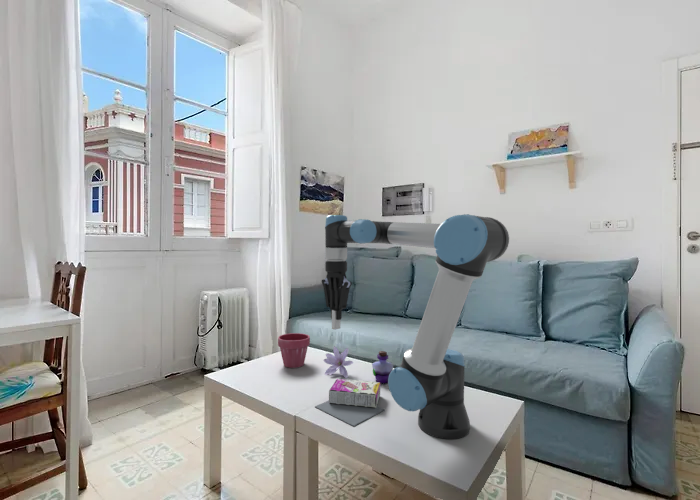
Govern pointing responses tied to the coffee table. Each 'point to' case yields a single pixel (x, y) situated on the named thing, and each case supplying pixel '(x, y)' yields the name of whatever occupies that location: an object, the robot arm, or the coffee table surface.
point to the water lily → (337, 362)
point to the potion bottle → (382, 368)
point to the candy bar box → (355, 393)
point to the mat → (349, 412)
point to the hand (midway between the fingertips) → (336, 328)
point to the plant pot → (293, 349)
